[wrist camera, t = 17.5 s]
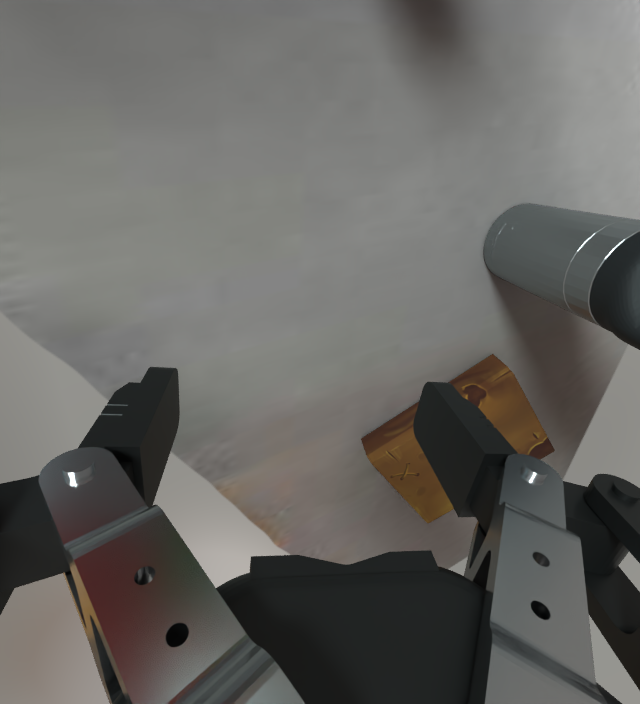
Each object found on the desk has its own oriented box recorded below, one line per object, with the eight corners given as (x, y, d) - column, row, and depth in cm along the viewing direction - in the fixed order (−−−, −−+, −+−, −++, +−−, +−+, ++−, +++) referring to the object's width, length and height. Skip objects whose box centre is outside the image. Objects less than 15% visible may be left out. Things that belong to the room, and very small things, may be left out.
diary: (488, 350, 54) (511, 369, 49) (531, 427, 62) (555, 450, 57) (359, 435, 58) (368, 461, 53) (415, 496, 66) (428, 524, 61)
